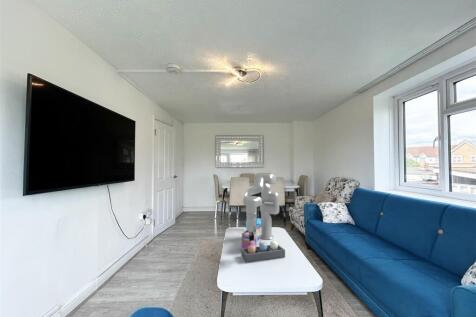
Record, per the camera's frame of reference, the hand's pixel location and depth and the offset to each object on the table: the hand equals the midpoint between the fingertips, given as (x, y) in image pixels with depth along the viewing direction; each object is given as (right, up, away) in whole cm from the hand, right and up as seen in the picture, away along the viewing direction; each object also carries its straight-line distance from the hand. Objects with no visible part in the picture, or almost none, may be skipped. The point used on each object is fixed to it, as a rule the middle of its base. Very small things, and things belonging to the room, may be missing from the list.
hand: (251, 240), depth 163 cm
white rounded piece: (+17, -9, +5) cm, 20 cm away
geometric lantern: (+7, -14, +66) cm, 68 cm away
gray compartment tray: (+8, -13, +2) cm, 15 cm away
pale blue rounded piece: (+8, -9, +2) cm, 13 cm away
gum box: (+1, -13, +21) cm, 25 cm away
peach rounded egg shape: (0, -10, -1) cm, 11 cm away
